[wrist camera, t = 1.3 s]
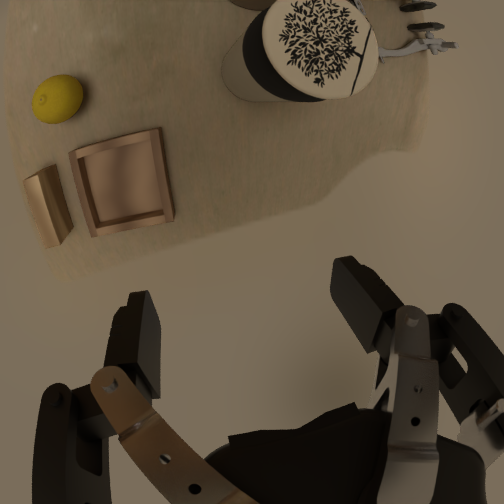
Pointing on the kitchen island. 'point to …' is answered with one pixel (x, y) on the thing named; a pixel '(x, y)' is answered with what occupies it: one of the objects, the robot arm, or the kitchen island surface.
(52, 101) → the lemon
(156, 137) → the walnut tray
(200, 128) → the kitchen island surface
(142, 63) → the kitchen island surface
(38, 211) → the oak stop
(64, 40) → the kitchen island surface
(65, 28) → the kitchen island surface
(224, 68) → the travel mug
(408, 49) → the bike brake
